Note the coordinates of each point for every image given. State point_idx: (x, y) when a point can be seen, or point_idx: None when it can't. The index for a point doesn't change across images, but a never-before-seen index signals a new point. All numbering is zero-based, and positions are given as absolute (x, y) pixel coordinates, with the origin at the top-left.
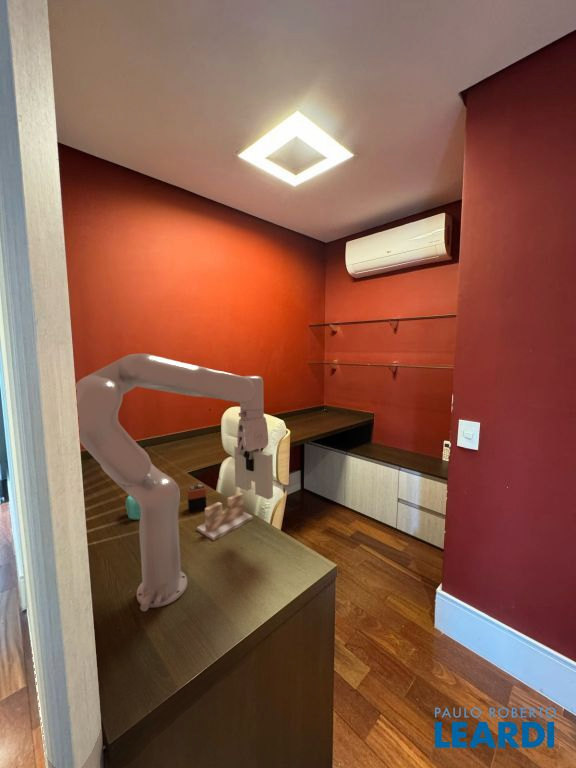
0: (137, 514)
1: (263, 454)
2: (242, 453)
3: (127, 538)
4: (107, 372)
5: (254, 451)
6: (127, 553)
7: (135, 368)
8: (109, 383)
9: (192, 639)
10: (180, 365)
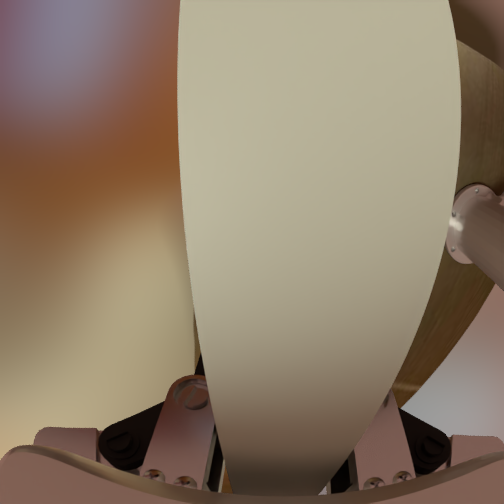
0: None
1: (442, 225)
2: (473, 451)
3: (399, 375)
4: None
5: (324, 468)
6: (429, 343)
7: None
8: None
9: (496, 106)
10: None
